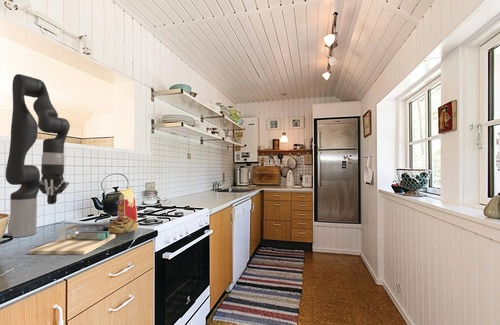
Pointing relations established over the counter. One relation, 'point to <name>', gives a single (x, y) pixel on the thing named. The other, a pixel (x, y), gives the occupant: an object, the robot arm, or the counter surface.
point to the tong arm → (91, 236)
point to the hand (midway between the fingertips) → (51, 203)
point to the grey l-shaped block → (63, 231)
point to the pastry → (122, 225)
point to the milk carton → (127, 204)
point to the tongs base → (89, 232)
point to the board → (71, 246)
